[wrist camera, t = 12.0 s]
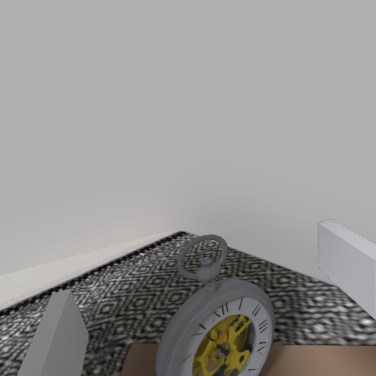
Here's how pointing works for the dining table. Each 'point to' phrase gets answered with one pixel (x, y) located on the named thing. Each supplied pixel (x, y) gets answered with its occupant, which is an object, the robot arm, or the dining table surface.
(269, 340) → the pocket watch
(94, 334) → the dining table surface
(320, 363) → the walnut board
